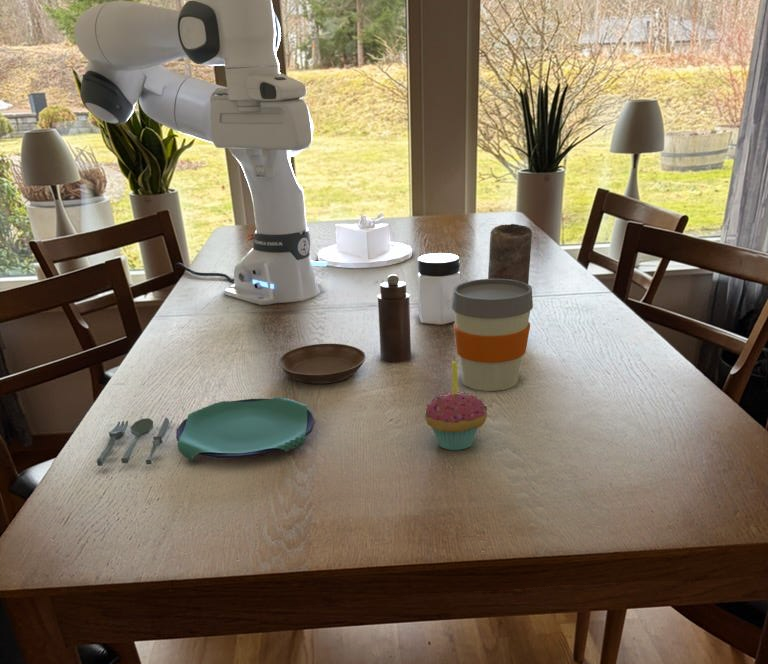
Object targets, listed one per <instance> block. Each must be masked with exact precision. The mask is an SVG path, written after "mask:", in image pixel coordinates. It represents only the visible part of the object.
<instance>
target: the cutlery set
mask: <svg viewBox="0 0 768 664" xmlns="http://www.w3.org/2000/svg"><path fill="white" fill-rule="evenodd" d="M315 424H316V420H315V417H314V415H313V412H312V411H311V410H309V409H308V405H307V404H305V403H302V402H300V401H297V400H295V399H290V398H286V397H279V396H278V397H273V398H245V399H237V400H230V401H229V400H226V401H223V400H222V401H218V402H215V403H212V404H209V405H207V406H205V407H202V408H200V409H197V410H194V411H193V412H190V413H189V414H188V415H187V417H186V418H185V419H184V420H182V422H181V423H180V424H179V426H178V427H177V428H176V430H175V431H176V433H175V434H176V435H175V436H176V437H175V438H176V442H177V449H178V451H179V453H180V454H181V455H182V456H183V457H184V458H186V459H187V460H189V461H191V462H193V458H194V457H195V456H197V455H198V456H203V457H209V458H214V459H215V458H216V459H246V458H252V457H259V456H265V455H268V454H271V453H275V452H279V451H282V450H283V451H285V452H286V453H288V452H290V451H291V450H294V449H296V448H299V447H301V446H303V444H304V442H305V440H306V437H307V436H308V435H309V434H311V433H312V431H313V429H314V426H315ZM128 426H129V420H126V421H125V420H123V421H122V422H121V421H117V424H116V425H115V426H114V428H112V429H111V431H108V435H109V441H108V442H107V445H106V446H105V448H104V449H103V451H102V452H101V453H100V455H99V457H98V458H97V460H96V465H97V467H103V466H104V464H105V462H106V460H107V458H108V457H109V455H110V453H111V452H112V450H113V448H114V446H115V443H116V441H117V440H118V441H119V440H120V439H121V438H123V437H124V436H125V433H126V430H127V428H128ZM169 426H170V419H169V418H168V417H164V420H163V421H162V424H161V426H160V428H159V431H158V433H157V435H156V436H153V440H152V443H151V444H152V447H151V449H150V453H149V455H148V457H147V459H145V464H146V465H152V459H153V456H154V453H155V452H156V450H157V447H159V446H161V444H163V437H164V436H165V435H166V433H167V431H168V428H169ZM153 428H154V420H153V419H151V418H147V417H146V418H141V419H139V420H136V421H135V422H134V423H133V424H132V425H131V426H130V433H131V434H133V435H134V436H135V437H134V438H133V440H132V441H131V443H130V444H129V445H128V447H127V449H126V450H125V452H124V454H123V456H122V457H121V461H120V462H121V464H128V463H129V462H130V459H131V457H132V454H133V451H134V450H135V447H136V445H137V443H138V441H139V440H140V438H141V437H142V436H145V435H147V434H149V433H150V432H151V431H152V430H153Z"/></svg>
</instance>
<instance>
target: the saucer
mask: <svg viewBox="0 0 768 664" xmlns="http://www.w3.org/2000/svg"><path fill="white" fill-rule="evenodd" d="M366 357H367V356H366V353H365V352H364V351H363V350H362V349H360V348H358V347H356V346H354V345H353V346H352V345H349V344H345V343H344V344H343V343H342V344H341V343H316V344H309V345H304V346H300V347H296V348H294V349H291V350H288V351H287V352H285V353H284V354H283V355H281V356H280V357H279V359H278V366H280V367H281V369H282V370H283V371H284V372H285V373H286V374H287V375H288V376H290V377H291V378H293V379H295V380H297V381H298V382H301V383H306V384H313V385H315V384H317V385H321V384H322V385H323V384H332V383H337V382H341V381H344V380H346V379H348V378H350V377H351V376H353V375H354V374H355V373H356V372H357V371H358V370H359V369H360V368H361V367H362V365H363V364H364V362H365V361H366Z"/></svg>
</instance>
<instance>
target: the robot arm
mask: <svg viewBox="0 0 768 664" xmlns="http://www.w3.org/2000/svg"><path fill="white" fill-rule="evenodd" d="M279 21H280V20H279V18H278V16H277V14H276V12H275V10H274V6H273V0H188V1H187V2H185V3H184V4H183V6H182V7H181V9H180V10H177V9H171V8H166V7H162V6H156V5H152V4H147V3H142V2H136V1H129V0H115V1H114V0H113V1H107V2H103V3H99V4H96V5H93V6H91V7H89V8H87V9H86V10H85V11H83V12H82V13H81V14H79V16H78V17H77V19H76V21H75V24H74V31H73V32H74V40H75V43H76V47H77V48H78V50H79V52H80V53H81V54H82V56H83V57H84V58H85V59H86V60H87V61H88V62H87V66H86V69H85V73H83V74H82V79H81V84H80V92H79V93H80V94H79V96H80V100H81V102H82V104H83V106H84V108H85V109H86V110H87V111H89V112H90V113H91V114H92V115H93V116H94V117H96V118H97V119H98V120H101V121H103V122H105V123H109V124H112V125H124V124H126V123H127V122H128V120H129V119H130V118H131V117H132V115H133V114H134V112H135V106H136V105H137V102H138V103H139V106H140V109H141V110H142V112H143V113H144V114H145V115H146V116H147V117H148V118H150V119H152V120H153V121H154V122H156V123H158V124H160V125H162V126H164V127H166V128H169V129H170V130H173V131H176V132H178V133H180V134H184V135H186V136H190V137H193V138H196V139H199V140H202V141H205V142H208V143H211V144H213V145H214V146H215V148H217V149H228V150H229V152H230V154H231V155H232V156H233V157H234V158H235V159H236V160H237V162H238V163H239V165H240V166H241V169H242V171H243V173H244V177H245V179H246V181H247V185H248V188H249V191H250V195H251V201H252V208H253V215H254V222H255V229H256V230H255V232H253V233H250V234H248V235H247V237H249V238H248V239H247V241H251V240H252V245H251V249H250V250H249V251H248V252H247V254H245V256H243V258H242V259H241V260H240V261H238V262H237V263H236V265H235V266H234V269H233V278H232V277H230V276H229V275H227V274H226V273H222V272H198V271H195V270H193V269H191V268H189V267H187V266H186V265H184V264H183V263H181V262H176V264H175V265H174V269H178V268H179V267H181V268H182V269H183V270H185V271H187V272H189V273H190V274H193V275H195V276H201V277H223V278H225V279H227V280H228V281H230V282H231V283H233V284H232V285H230V286H228V287H227V288H226V289H224V294H225V295H226V296H229V297H232V298H236V299H239V300H242V301H245V302H248V303H252V304H257V305H260V306H266V305H267V306H268V305H272V304H284V303H285V304H286V303H295V302H301V301H305V300H310V299H313V298H315V297H317V296H318V295H319V294H320V293H321V290H320V288H319V285H318V282H317V278H316V274H315V271H314V266H316V267H327V266H328V265H327V263H326V262H319V260H318V261H316V260H312V256H311V233H310V229H309V227H308V225H307V214H306V204H305V203H306V201H305V193H304V189H303V187H302V186H301V185H300V183H298V181H297V178H296V176H295V172H294V170H293V167H292V163H291V158H292V157H295V156H297V155H299V154H300V153H301V152H302V151H304V150H308V149H309V148H310V146H311V143H312V141H313V134H314V124H313V119H312V118H311V114H310V110H309V106H308V105H307V102H306V101H305V100H304V99H303V98H305V97H306V96H307V87H306V85H305V83H303V82H302V81H300V80H297V79H295V78H292V77H290V76H288V75H286V74H285V73H282V72H280V70H281V69H280V62H279V59H278V57H277V51H278V49H279V46H280V42H281V39H282V38H281V37H282V35H281V34H282V32H281V30H282V29H281V25H280V22H279ZM187 57H188V58H189V60H191V62H193V63H194V64H196V65H201V66H206V67H215V66H224V72H225V80H226V86H223V85H219V84H216V83H213V82H210V81H207V80H204V79H201V78H198V77H195V76H191V75H188V74H183V73H179V72H175V71H172V70H170V69H168V68H167V67H165V66H164V65H163V64H166V63H169V62H173V61H176V60H180V59H183V58H187Z"/></svg>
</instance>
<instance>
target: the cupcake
mask: <svg viewBox="0 0 768 664" xmlns="http://www.w3.org/2000/svg"><path fill="white" fill-rule="evenodd" d="M452 357H453V360H452V362H451V374H452V375H451V376H452V391H451V392H445V393H443V394H441V395H440V394H439V395H437V396H435V398H433V399H432V400H431V401H429V403H427V404H426V408H425V413H424V419H425V422H426V424H427V426H429V427H430V428H431V429H432V430H433V433H434V435H435V438H436V442H437V444H438V446H439V447H441V448H442V449H445V450H448V451H461V450H465V449H468V448H470V447H471V446H472V445H473V442H474V440H475V437H476V434H477V431H478V429H479V428H481V427H482V426H483V425H484V424H485V423H486V421H487V418H488V406H487V405H485V403H484V402H483V401H482V399H481V398H478V397H477V395H473V394H469V393H468V392H460V391H459V390H458V361H456V355H453V356H452Z"/></svg>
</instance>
